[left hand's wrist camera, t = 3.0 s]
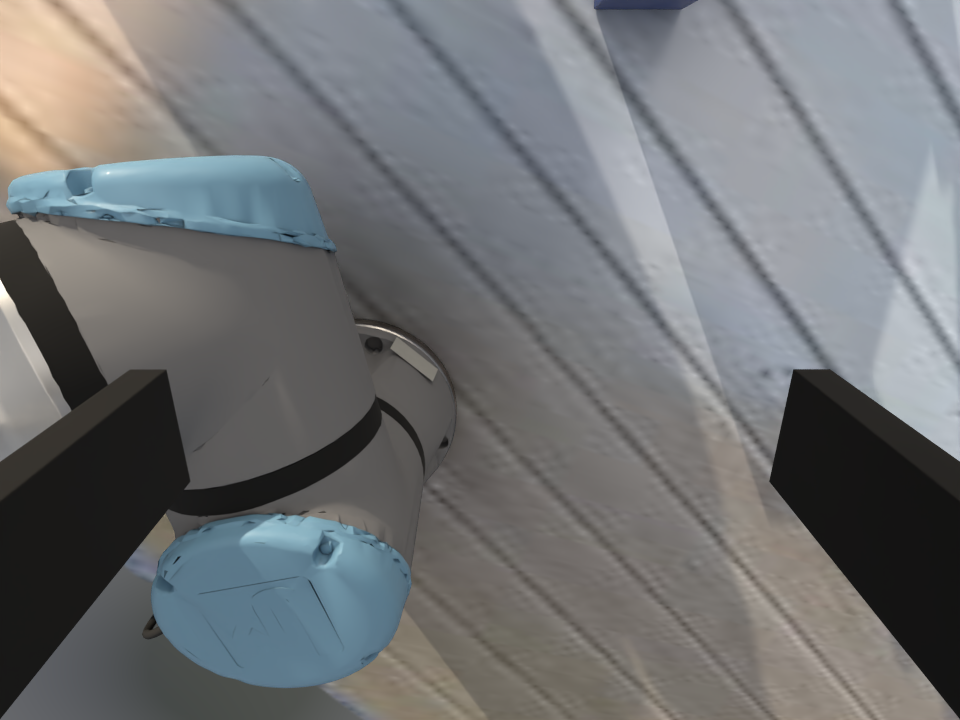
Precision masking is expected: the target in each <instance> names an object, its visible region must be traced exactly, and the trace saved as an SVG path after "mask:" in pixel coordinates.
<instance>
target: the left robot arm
mask: <svg viewBox="0 0 960 720" xmlns="http://www.w3.org/2000/svg"><path fill="white" fill-rule="evenodd" d="M8 195H9V199H8V201H7V204H6V206H7V207H8V209H9V210H10V212H11V213H12V214H18V216H19V218H18V219H14V220H12V221H8V222H3V223H0V719H1V717H2V716H3V715H4V714H5V712H6V711H7V710H8V709H9V707H10V706H11V705H12V704H13V702H14V701H15V700H16V699H17V697H18V696H19V695H20V694H21V692H22V691H23V690H24V689H25V687H26V686H27V685H28V684H29V682H30V681H31V680H32V679H33V677H34V676H35V675H36V674H37V672H38V671H39V670H40V669H41V667H42V666H43V665H44V664H45V662H46V661H47V660H48V659H49V657H50V656H51V655H52V654H53V652H54V651H55V650H56V649H57V647H58V646H59V645H60V644H61V642H62V641H63V640H64V639H65V637H66V636H67V635H68V634H69V632H70V631H71V630H72V629H73V628H74V626H75V625H76V624H77V622H78V621H79V620H80V619H81V618H82V616H83V615H84V614H85V612H86V611H87V610H88V609H89V607H90V606H91V605H92V604H93V603H94V601H95V600H96V599H97V598H98V596H99V595H100V594H101V593H102V591H103V590H104V589H105V588H106V586H107V585H108V584H109V583H110V581H111V580H112V579H113V578H114V576H115V575H116V574H117V573H118V571H119V570H120V569H121V568H122V566H123V565H124V564H125V563H126V561H127V560H128V559H129V558H130V556H131V555H132V554H133V553H134V551H135V550H136V549H137V548H138V546H139V545H140V544H141V543H142V541H143V540H144V539H145V538H146V536H147V535H148V534H149V533H150V532H151V530H152V529H153V528H154V527H155V525H156V524H157V523H158V522H159V520H160V519H161V518H162V517H163V515H164V514H165V513H166V515H167V517H168V519H169V521H170V523H171V525H172V527H173V529H174V532H175V538H176V539H175V540H174V541H173V542H172V544H171V545H170V546H169V547H168V548H167V549H166V550H165V551H164V552H163V554H162V556H161V557H160V559H159V561H158V569H157V575H156V577H155V579H154V581H153V585H152V590H151V603H152V609H153V613H154V614H153V615H152V617H151V618H150V620H149V621H148V622H147V624H146V626H145V628H144V630H143V633H142V635H143V637H144V638H145V639H151V638H155V637H157V636H159V635H161V634H164V635H165V636H166V637H167V639H168V640H169V641H170V642H171V643H172V645H173V646H174V647H175V648H176V649H177V650H178V651H180V652H181V653H182V654H183V655H185V656H186V657H187V658H189V659H190V660H192V661H193V662H195V663H196V664H198V665H200V666H201V667H203V668H205V669H208V670H210V671H212V672H214V673H216V674H218V675H220V676H223V677H228V678H233V679H237V680H239V681H242V682H244V683H247V684H252V685H257V686H264V687H276V688H296V687H307V686H315V685H320V684H325V683H329V682H332V681H336V680H339V679H341V678H344V677H346V676H349V675H351V674H353V673H355V672H357V671H359V670H360V669H362V668H363V667H365V666H366V665H368V664H369V663H370V662H372V661H373V660H374V659H375V658H376V657H377V656H378V653H379V652H381V651H382V650H383V648H385V647H386V646H387V645H388V644H389V643H390V641H391V640H392V638H393V636H394V634H395V632H396V630H397V628H398V625H399V622H400V618H401V615H402V611H403V608H404V604H405V601H406V600H407V596H408V595H409V592H410V588H411V584H412V583H411V577H410V576H411V565H412V558H413V552H414V545H415V538H416V531H417V524H418V517H419V510H420V503H421V496H422V489H423V484H424V483H425V482H426V481H427V480H428V479H429V477H430V476H431V475H432V474H433V473H434V472H435V470H436V469H437V468H438V467H439V465H440V464H441V462H442V461H443V459H444V457H445V456H446V454H447V451H448V449H449V447H450V445H451V442H452V439H453V436H454V431H455V424H456V397H455V392H454V388H453V385H452V382H451V380H450V377H449V375H448V373H447V371H446V369H445V368H444V366H443V364H442V363H441V362H440V360H439V359H438V357H437V356H436V355H435V354H434V353H433V352H432V351H431V350H430V349H429V348H428V347H427V346H426V345H425V344H424V343H422V342H421V341H420V340H418V339H417V338H416V337H414V336H412V335H411V334H409V333H407V332H406V331H404V330H402V329H400V328H397V327H395V326H392V325H389V324H386V323H382V322H378V321H373V320H364V319H354V318H353V314H352V311H351V308H350V304H349V301H348V297H347V294H346V291H345V287H344V284H343V281H342V277H341V274H340V271H339V267H338V264H337V261H336V257H335V254H334V252H336V251H337V249H336V246H335V244H334V243H333V242H332V240H330V239H328V236H327V233H326V230H325V228H324V225H323V222H322V219H321V216H320V214H319V211H318V208H317V205H316V202H315V200H314V197H313V194H312V191H311V188H310V186H309V184H308V182H307V181H306V179H305V178H304V176H303V175H302V174H301V173H300V172H299V171H298V170H297V169H296V168H295V167H293V166H292V165H290V164H288V163H286V162H285V161H282V160H280V159H277V158H272V157H266V156H243V155H233V156H204V157H184V158H168V159H155V160H143V161H132V162H121V163H113V164H104V165H98V166H96V167H94V168H88V167H84V168H77V169H71V170H53V171H46V172H40V173H35V174H30V175H25V176H21V177H19V178H17V179H15V180H13V181H12V182H11V184H10V186H9V187H8ZM769 482H770V483H771V484H772V485H773V487H774V488H775V489H776V490H777V492H778V493H779V494H780V495H781V497H782V498H783V499H784V500H785V502H786V503H787V504H788V505H789V507H790V508H791V509H792V510H793V512H794V513H795V514H796V515H797V517H798V518H799V519H800V520H801V522H802V523H803V524H804V525H805V527H806V528H807V529H808V530H809V532H810V533H811V534H812V535H813V536H814V538H815V539H816V540H817V541H818V543H819V544H820V545H821V546H822V548H823V549H824V550H825V551H826V553H827V554H828V555H829V556H830V558H831V559H832V560H833V561H834V563H835V564H836V565H837V566H838V568H839V569H840V570H841V571H842V573H843V574H844V575H845V576H846V578H847V579H848V580H849V581H850V583H851V584H852V585H853V586H854V588H855V589H856V590H857V591H858V593H859V594H860V595H861V596H862V598H863V599H864V600H865V601H866V603H867V604H868V605H869V606H870V608H871V609H872V610H873V611H874V613H875V614H876V615H877V616H878V618H879V619H880V620H881V621H882V623H883V624H884V625H885V626H886V628H887V629H888V630H889V631H890V632H891V634H892V635H893V636H894V637H895V639H896V640H897V641H898V642H899V644H900V645H901V646H902V647H903V649H904V650H905V651H906V652H907V654H908V655H909V656H910V657H911V659H912V660H913V661H914V662H915V664H916V665H917V666H918V667H919V669H920V670H921V671H922V672H923V674H924V675H925V676H926V677H927V679H928V680H929V681H930V682H931V684H932V685H933V686H934V687H935V689H936V690H937V691H938V692H939V694H940V695H941V696H942V697H943V699H944V700H945V701H946V702H947V704H948V705H949V706H950V707H951V709H952V710H953V711H954V712H955V714H956V715H957V716H958V717H959V719H960V462H959V461H958V460H957V459H955V458H954V457H952V456H951V455H950V454H948V453H947V452H945V451H944V450H943V449H941V448H940V447H938V446H937V445H936V444H934V443H933V442H931V441H930V440H929V439H927V438H926V437H924V436H923V435H922V434H920V433H919V432H917V431H916V430H914V429H913V428H912V427H910V426H909V425H907V424H906V423H905V422H903V421H902V420H900V419H899V418H898V417H896V416H895V415H893V414H892V413H891V412H889V411H888V410H886V409H885V408H884V407H882V406H881V405H879V404H878V403H876V402H875V401H874V400H872V399H871V398H869V397H868V396H867V395H865V394H864V393H862V392H861V391H860V390H858V389H857V388H855V387H854V386H853V385H851V384H850V383H848V382H847V381H846V380H844V379H843V378H841V377H840V376H838V375H837V374H836V373H834V372H833V371H831V370H830V369H793V374H792V379H791V383H790V388H789V393H788V397H787V402H786V407H785V411H784V416H783V420H782V425H781V430H780V434H779V439H778V444H777V448H776V453H775V458H774V462H773V467H772V472H771V476H770V481H769ZM156 623H157V624H158V626H159V627H157V628H155V629H153V628H154V626H155V625H156Z"/></svg>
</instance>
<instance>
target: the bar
mask: <svg viewBox="0 0 960 720" xmlns="http://www.w3.org/2000/svg"><path fill="white" fill-rule="evenodd" d="M696 1H697V0H595V1H594V9H683V8H685V7H687V6H688V5H690V4H692V3H694V2H696Z"/></svg>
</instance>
